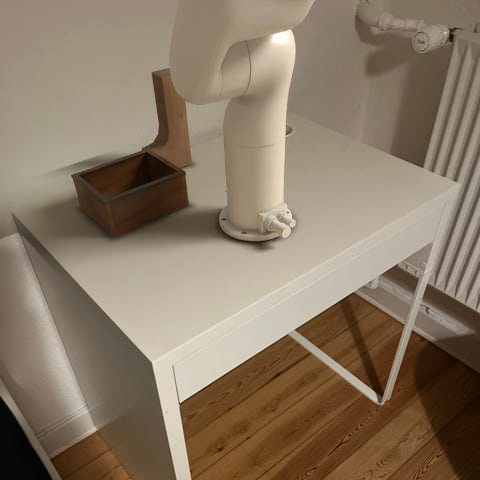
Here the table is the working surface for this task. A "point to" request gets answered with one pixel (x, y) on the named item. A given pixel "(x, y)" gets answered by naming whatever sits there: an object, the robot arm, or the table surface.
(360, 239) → the table surface
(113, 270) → the table surface
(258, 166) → the robot arm
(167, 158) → the wooden block
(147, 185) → the wooden box
